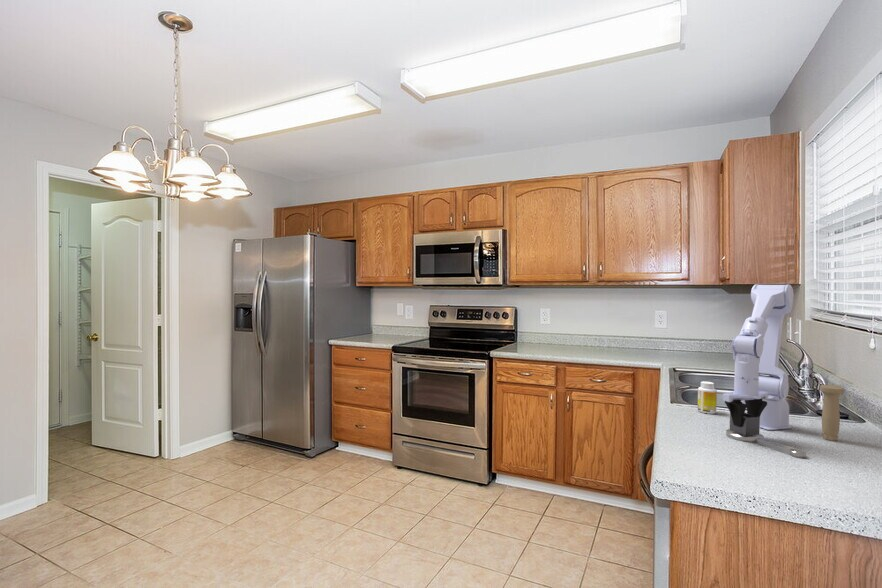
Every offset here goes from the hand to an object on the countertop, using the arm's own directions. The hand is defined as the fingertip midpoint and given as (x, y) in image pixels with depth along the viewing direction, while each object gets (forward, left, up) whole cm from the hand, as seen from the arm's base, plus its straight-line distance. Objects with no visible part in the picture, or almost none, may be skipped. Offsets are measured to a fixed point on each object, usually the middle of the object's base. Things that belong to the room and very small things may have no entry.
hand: (745, 425), depth 127 cm
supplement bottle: (-12, -24, -4) cm, 27 cm away
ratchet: (0, +6, -3) cm, 7 cm away
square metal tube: (0, 0, -2) cm, 2 cm away
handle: (-23, +7, -4) cm, 24 cm away
